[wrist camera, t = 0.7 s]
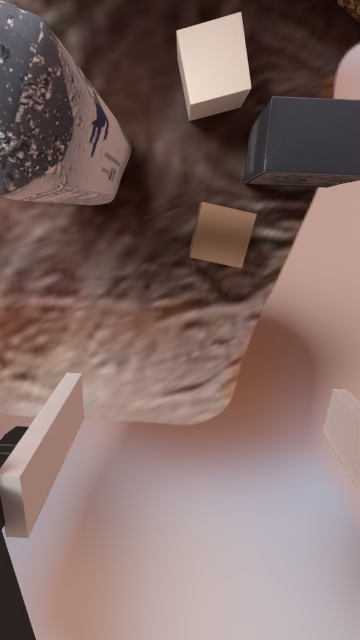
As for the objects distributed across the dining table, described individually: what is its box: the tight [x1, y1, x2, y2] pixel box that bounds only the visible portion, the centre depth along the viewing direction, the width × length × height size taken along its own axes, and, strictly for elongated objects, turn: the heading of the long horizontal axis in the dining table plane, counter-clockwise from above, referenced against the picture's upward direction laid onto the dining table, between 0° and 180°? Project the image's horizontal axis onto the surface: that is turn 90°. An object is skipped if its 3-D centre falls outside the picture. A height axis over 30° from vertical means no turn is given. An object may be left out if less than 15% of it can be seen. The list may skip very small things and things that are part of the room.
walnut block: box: [189, 202, 257, 268], centre depth 38 cm, size 6×6×6 cm
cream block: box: [177, 12, 251, 121], centre depth 33 cm, size 6×6×6 cm
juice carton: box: [0, 0, 132, 205], centre depth 25 cm, size 9×10×27 cm
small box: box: [244, 96, 360, 187], centre depth 33 cm, size 11×6×10 cm, turn 88°
